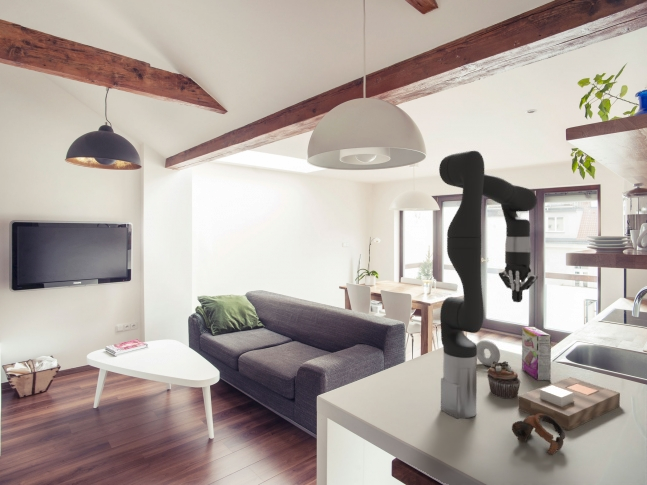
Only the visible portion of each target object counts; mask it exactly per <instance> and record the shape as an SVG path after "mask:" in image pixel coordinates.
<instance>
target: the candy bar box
mask: <svg viewBox="0 0 647 485" xmlns="http://www.w3.org/2000/svg"><path fill="white" fill-rule="evenodd" d="M551 339H552V335H551V334H549V333H548V332H545V331H543V330H541V329H539V328H538V327H536V326H522V327H521V369H522V370H523V371H525V372H526V373H527V374H528V375H530V376H531V377H532V378H534V379H535V380H537V381H541V382H542V381H551V372H552V371H551V370H552V369H551V360H552V359H551V357H552V355H551V354H552V352H551V351H552V349H551V348H552V345H551V344H552V340H551Z"/></svg>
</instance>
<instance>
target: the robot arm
mask: <svg viewBox="0 0 647 485" xmlns="http://www.w3.org/2000/svg"><path fill="white" fill-rule="evenodd" d="M438 168H439V169H438V170H439V176H440V178H441V180H442V181H443V182H444V183H445V184H447V185H448V186H452V187H456V188H460V189H462V196H461V201H460V205H459V206H458V209H457V211H456V213H455V214H454V216H453V218H452V220H451V221H450V224H449V226H448V227H447V233H446V252H447V257H448V259H449V261H450V263H451V264H452V267H453V268H454V270H455V272H456V274H457V275H458V277H459V279H460V283H461V285H462V290H463V291H462V292H463V297H461V298H460V297H454V296H449V297H447V298H445V299H444V300H443V301H442V304H441V307H440V314H439V315H440V316H439V317H440V318H439V320H440V321H439V322H440V338H441V339H440V341H441V344H442V347H443V348H442V349H443V350H442V351H443V359H442V360H443V363H442V364H443V365H442V366H443V374H442V375H443V376H442V377H441V379H440V410H441V411H443V412H444V413H446V414H448V415H450V416H451V417H453V418H455V419H461V418H463V419H464V418H465V419H468V418H473V417H474V416H476V415H477V392H478V391H477V386H478V385H477V383H478V382H477V380H478V379H477V376H478V375H477V373H478V372H477V371H478V370H477V368H478V358H477V346H476V345H477V343H475V342H474V341H472V340H470V339H469V338H468V337H467V336H466V335H465V334H464V332H466V333H471V334H477V333H478V332H479V331H480V330H481V329H482V328H483V327H482V326H483V323H484V316H485V315H484V313H485V312H484V299H483V288H482V265H481V264H482V263H481V262H482V203H483V201H482V200H483V197H485V198H488V199H490V200H492V201H494V202H496V203H498V204H500V205H501V209H502V210H501V211H502V214H503V217H504V221H505V224H506V228H505V229H506V232H505V234H506V238H505V248H504V249H505V250H504V251H505V252H504V253H505V254H504V256H505V257H504V259H505V261H504V263H505V267H504V270H503V271H501V272H498V277H499V278H500V279H501V280H502V282H503V284H504V285H505V287H506V289H510V290H511V300H512V302H514V303H521V302H522V301H523V291H525V290H529V289H530V288H531V287H532V286H533V285H534V283H535V282H536V281H537V280H538V277H539V276H538V275H535V274H534V273H532V270H531V268H530V267H531V266H530V265H531V254H532V252H531V250H532V249H531V248H532V247H531V246H532V245H531V222H530V220H528V219H526V218H520V217H519V216H518V212H521V213H522V212H529V211H531V210H533V209H534V208H535V207H536V206H537V204H538V203H537V202H538V197H537V196H536V193H535V192H534V191H533V190H531V189H529V188H527V187H523V186H521V185H515V184H512V183H511V182H509V181H507V180H505V179H504V178H502V177H499V176H495V175H491V174H486V173H485V161H484V158H483V155H482V154H481V152H479V150H474V149H473V150H467V151H462V152H461V151H460V152H459V153H458V152H457V153H453V154H449V155H447V156H445V157H444V158H442V160H441V161H440V163H439V167H438Z"/></svg>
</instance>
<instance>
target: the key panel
mask: <svg viewBox="0 0 647 485" xmlns="http://www.w3.org/2000/svg"><path fill="white" fill-rule="evenodd" d="M575 384H579V385H582V386H585V387H588V388H591V389H595V390H598V392H596V393H594V394H591V395H589V396H588V395H585V394H582V393H579V392H576V391H573V390H570V389H567V387H569V386H572V385H575ZM551 385H553V386H556V387H558V388H561V389H564V390H567V391H570V392H573V402H572V403H570V404H568V405H565V406H563V407H561V406H558V405H556V404H553V403H551V402H548V401H546V400H543V399H540V389H543V388H546V387H548V386H551ZM620 395H621V392H618V391H614V390H612V389H609V388H606V387H603V386H599V385H598V384H597V385H596V384H593V383H590V382H587V381H584V380H580V379H577V378H574V377H571V376H569V377H567V378H564V379H561V380H559V381H556V382H553V383H550V384H547V385H545V386H544V385H543V386H542V387H539V388H536V389H533V390H531V391H528V392H525V393H523V394H519V395H518V410H520V411H523V412H525V413H527V414H529V415H530V416H535V415H536V414H538V413H542V414H546V415H548V416H550V417H552V418H553V419H554V420H555V421H557V422H558V423H559V424H560V426H561V427H562V428H563V430H566V431H571V430H573V429H575V428H577V427H579V426H581V425H583V424H586V423H588V422H589V421H591V420H594V419H596V418H599V417H600V416H603V415H604V414H606V413H608V412H610V411H612V410H614V409H616V408H618V407H620V404H621V403H620V401H621V396H620ZM539 419H541V420H542V418H539Z"/></svg>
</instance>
